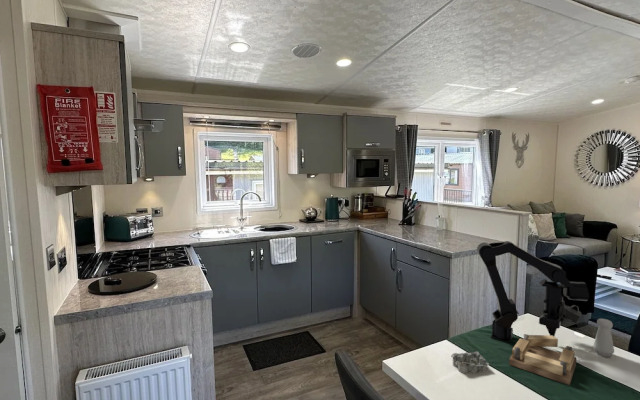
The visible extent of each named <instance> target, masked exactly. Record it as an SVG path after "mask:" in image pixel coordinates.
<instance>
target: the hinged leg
mask: <svg viewBox="0 0 640 400" xmlns="http://www.w3.org/2000/svg"><path fill="white" fill-rule="evenodd" d="M523 339H524V340H527V341H529V347H543V348H559V347H558V343H559V342H558V341H559V339H558V338H557V337H555V336H553V335H550V334H549V335H548V334H547V335H545V334H542V335H541V334H526V333H524V334H523Z"/></svg>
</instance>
